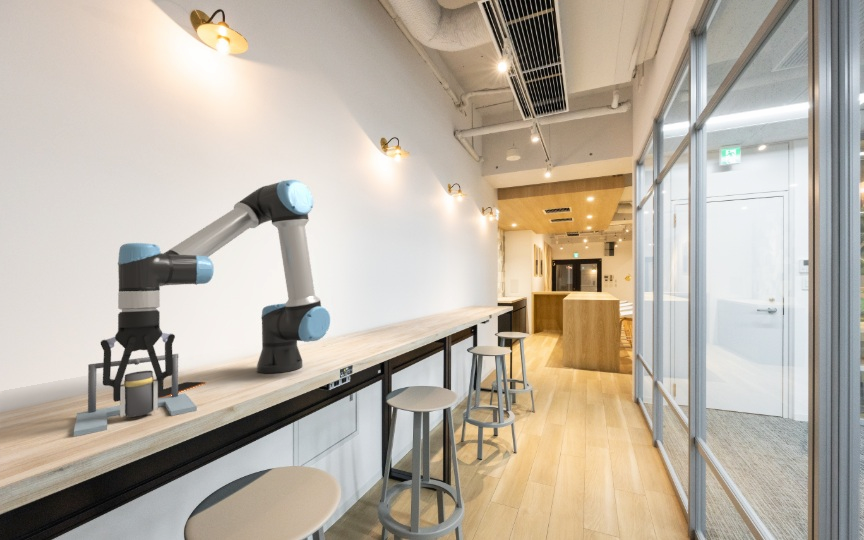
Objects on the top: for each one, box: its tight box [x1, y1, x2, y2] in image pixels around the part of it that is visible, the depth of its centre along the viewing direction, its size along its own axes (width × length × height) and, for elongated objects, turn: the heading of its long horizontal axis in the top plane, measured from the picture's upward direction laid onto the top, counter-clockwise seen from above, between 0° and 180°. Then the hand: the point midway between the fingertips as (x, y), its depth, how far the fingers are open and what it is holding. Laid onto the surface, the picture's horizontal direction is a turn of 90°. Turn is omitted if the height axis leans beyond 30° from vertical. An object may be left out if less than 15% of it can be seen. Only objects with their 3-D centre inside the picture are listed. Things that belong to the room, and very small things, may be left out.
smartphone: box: [158, 381, 207, 398], centre depth 106 cm, size 8×17×1 cm, turn 174°
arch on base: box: [73, 353, 198, 437], centre depth 86 cm, size 21×16×12 cm
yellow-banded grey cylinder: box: [123, 370, 154, 418], centre depth 84 cm, size 5×5×9 cm
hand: (139, 411), depth 84 cm, fingers closed on yellow-banded grey cylinder, 5 cm apart
